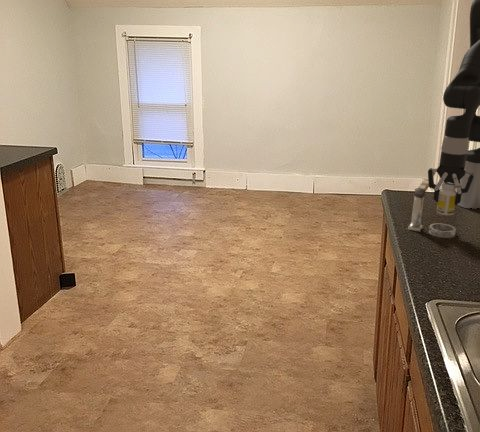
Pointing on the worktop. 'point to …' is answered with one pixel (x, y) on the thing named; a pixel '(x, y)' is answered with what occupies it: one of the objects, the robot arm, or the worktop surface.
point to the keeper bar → (422, 188)
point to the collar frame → (433, 228)
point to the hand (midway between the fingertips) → (446, 202)
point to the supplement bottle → (446, 199)
